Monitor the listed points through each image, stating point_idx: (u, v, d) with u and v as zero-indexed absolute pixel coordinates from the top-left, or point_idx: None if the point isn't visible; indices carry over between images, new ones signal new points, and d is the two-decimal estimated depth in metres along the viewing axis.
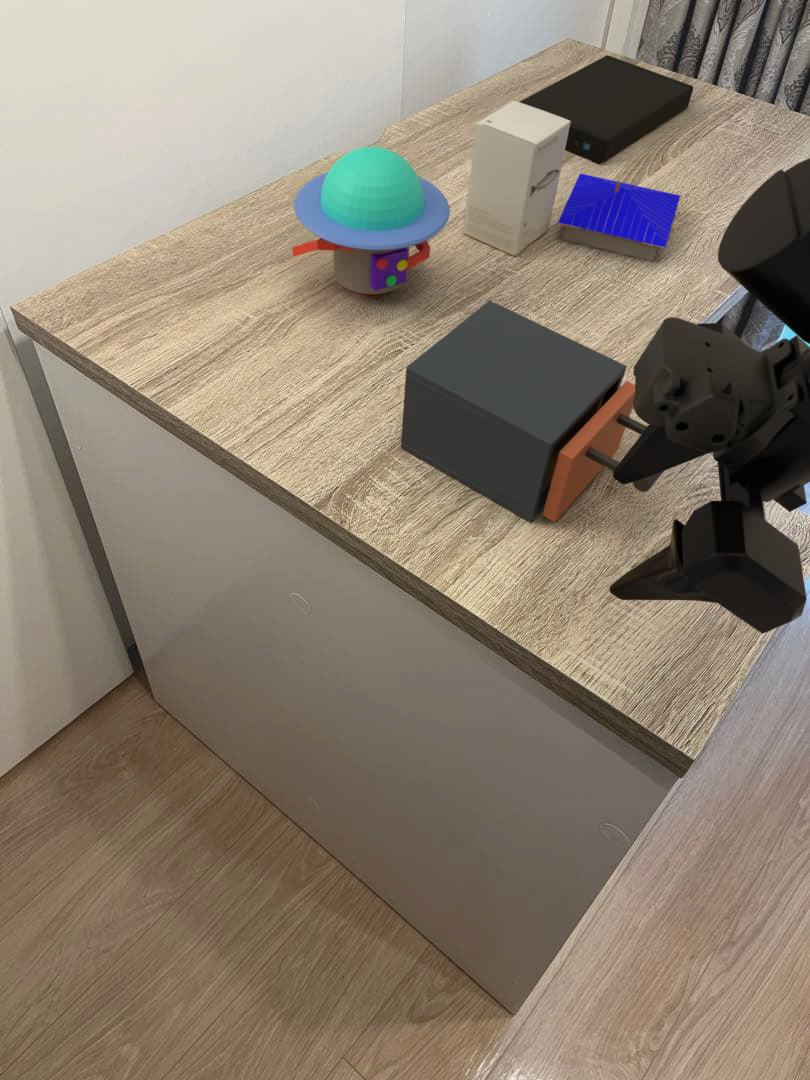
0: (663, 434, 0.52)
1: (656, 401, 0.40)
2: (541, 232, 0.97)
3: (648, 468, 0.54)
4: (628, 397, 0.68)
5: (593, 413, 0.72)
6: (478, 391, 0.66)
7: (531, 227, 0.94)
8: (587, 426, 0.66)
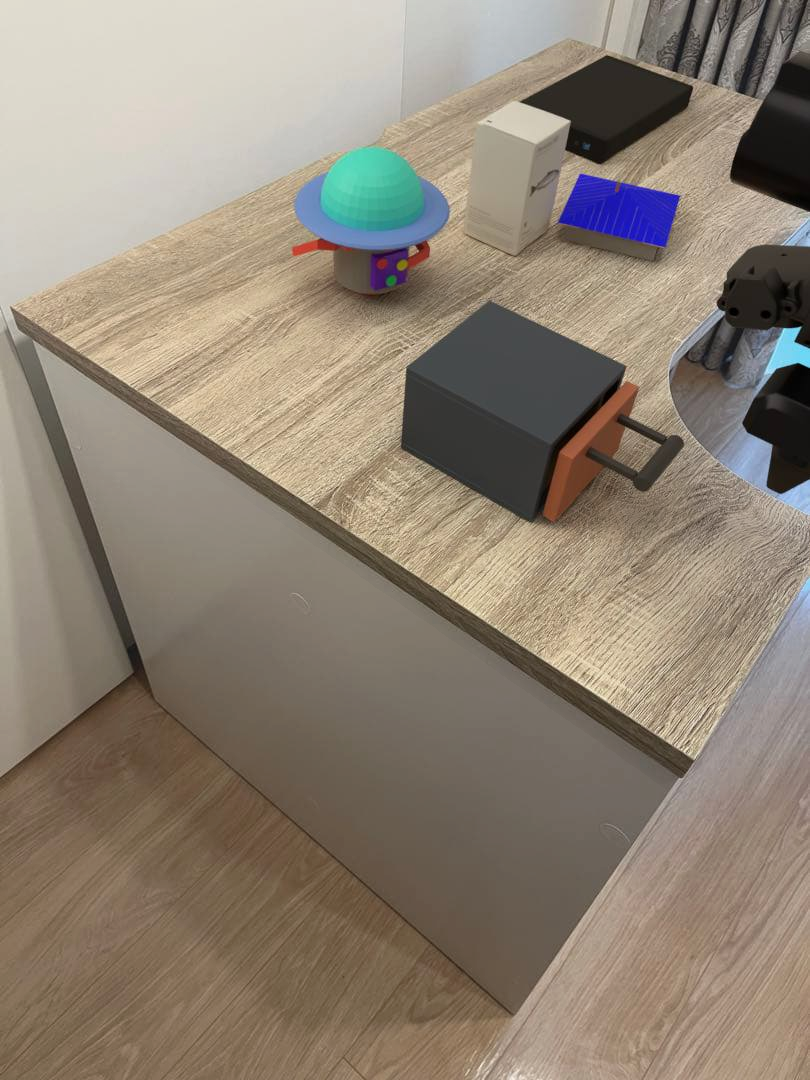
0: None
1: (717, 300, 0.51)
2: (541, 232, 0.97)
3: None
4: (628, 397, 0.68)
5: (593, 413, 0.72)
6: (478, 391, 0.66)
7: (531, 227, 0.94)
8: (587, 426, 0.66)
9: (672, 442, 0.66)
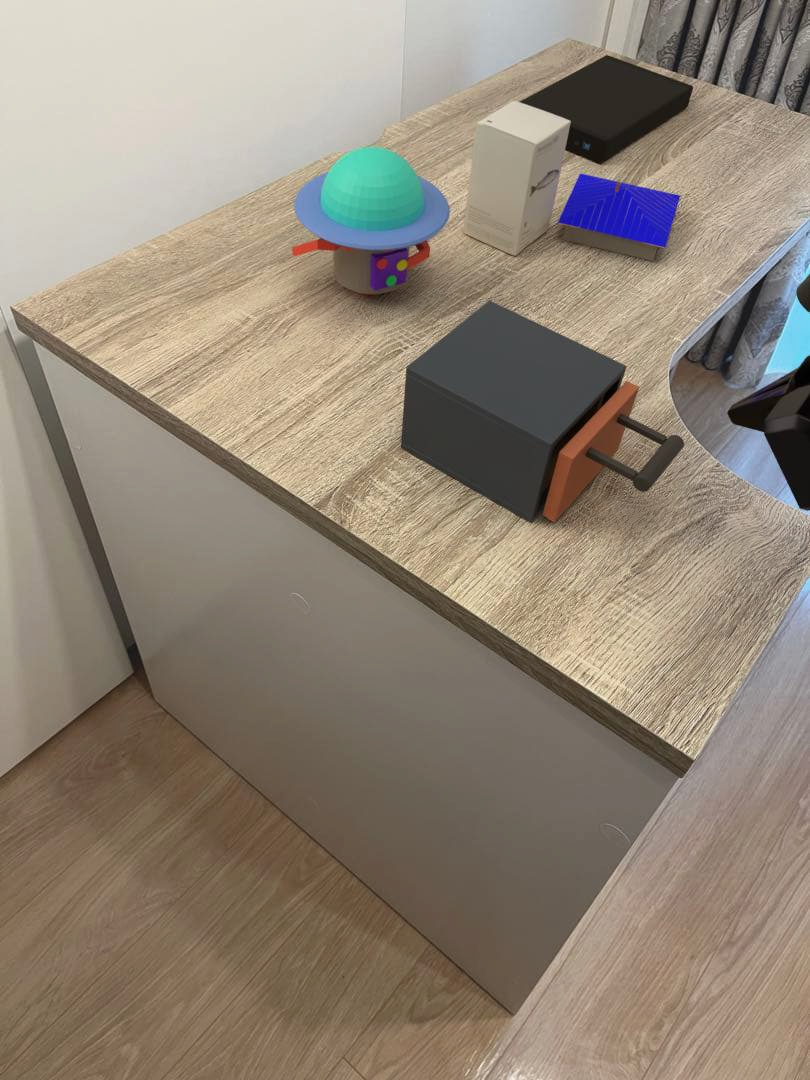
0: None
1: None
2: (541, 232, 0.97)
3: None
4: (628, 397, 0.68)
5: (593, 413, 0.72)
6: (478, 391, 0.66)
7: (531, 227, 0.94)
8: (587, 426, 0.66)
9: (672, 442, 0.66)
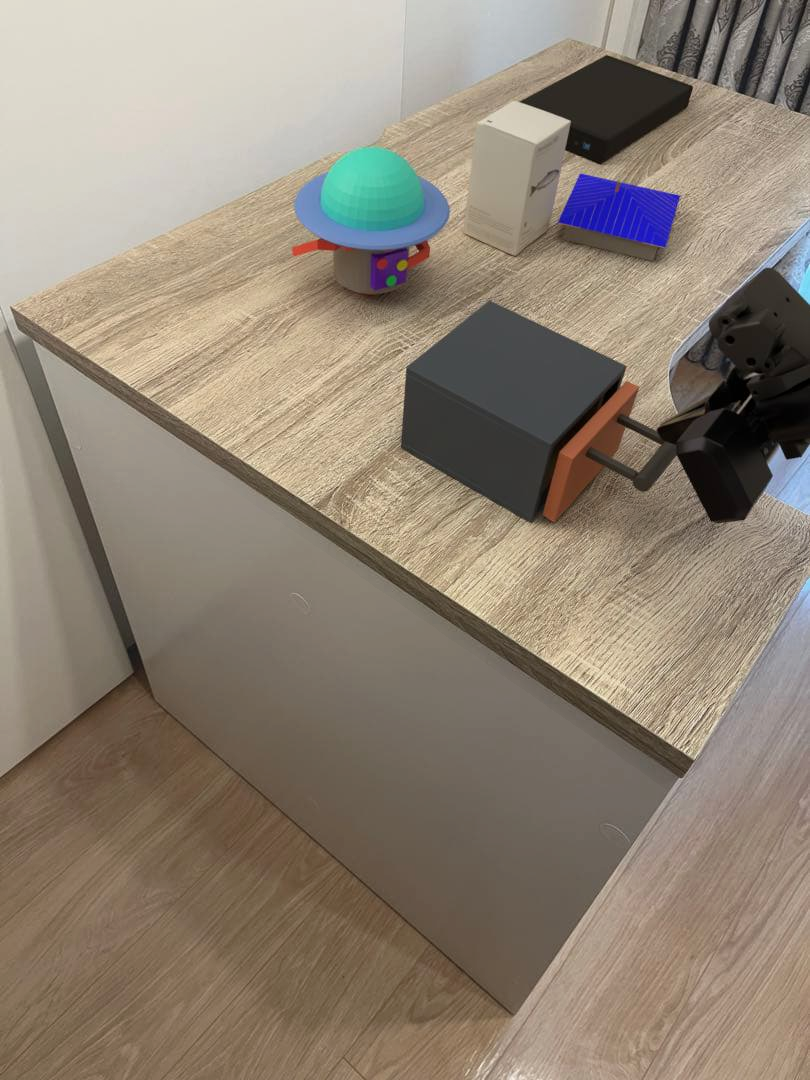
0: None
1: (722, 314, 0.52)
2: (541, 232, 0.97)
3: None
4: (628, 397, 0.68)
5: (593, 413, 0.72)
6: (478, 391, 0.66)
7: (531, 227, 0.94)
8: (587, 426, 0.66)
9: None
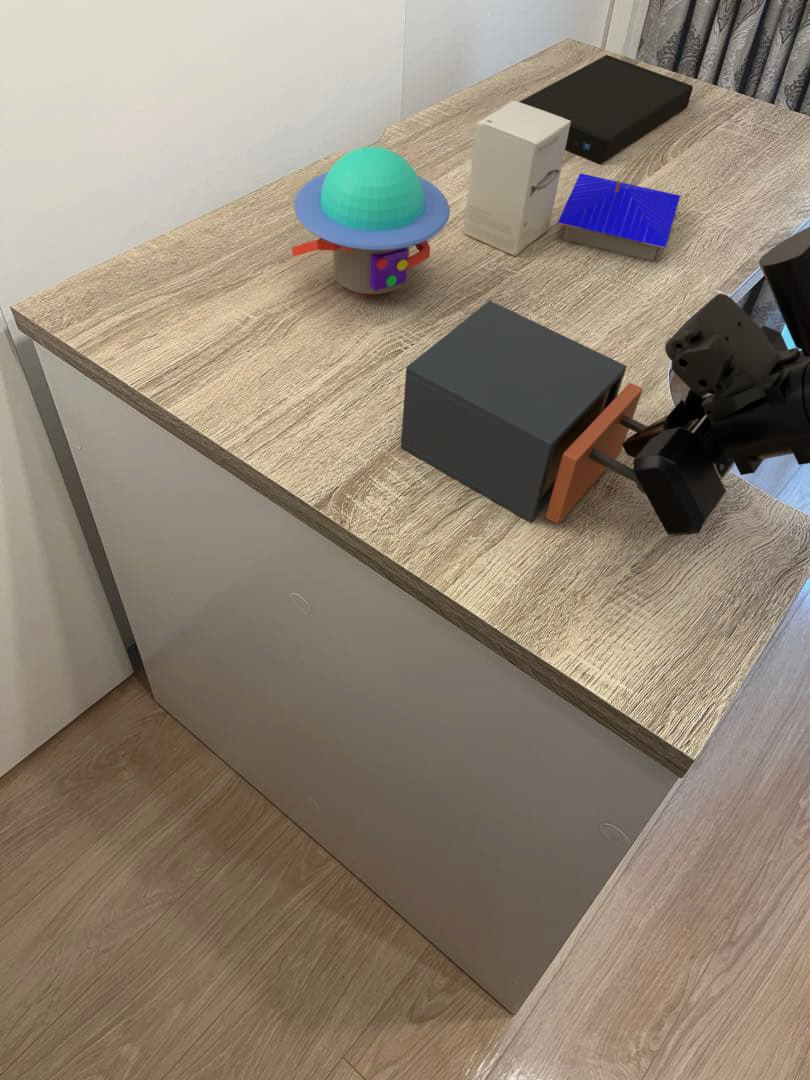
0: None
1: (676, 339, 0.55)
2: (541, 232, 0.97)
3: None
4: (631, 399, 0.68)
5: (596, 415, 0.72)
6: (478, 391, 0.66)
7: (531, 227, 0.94)
8: (590, 427, 0.66)
9: None
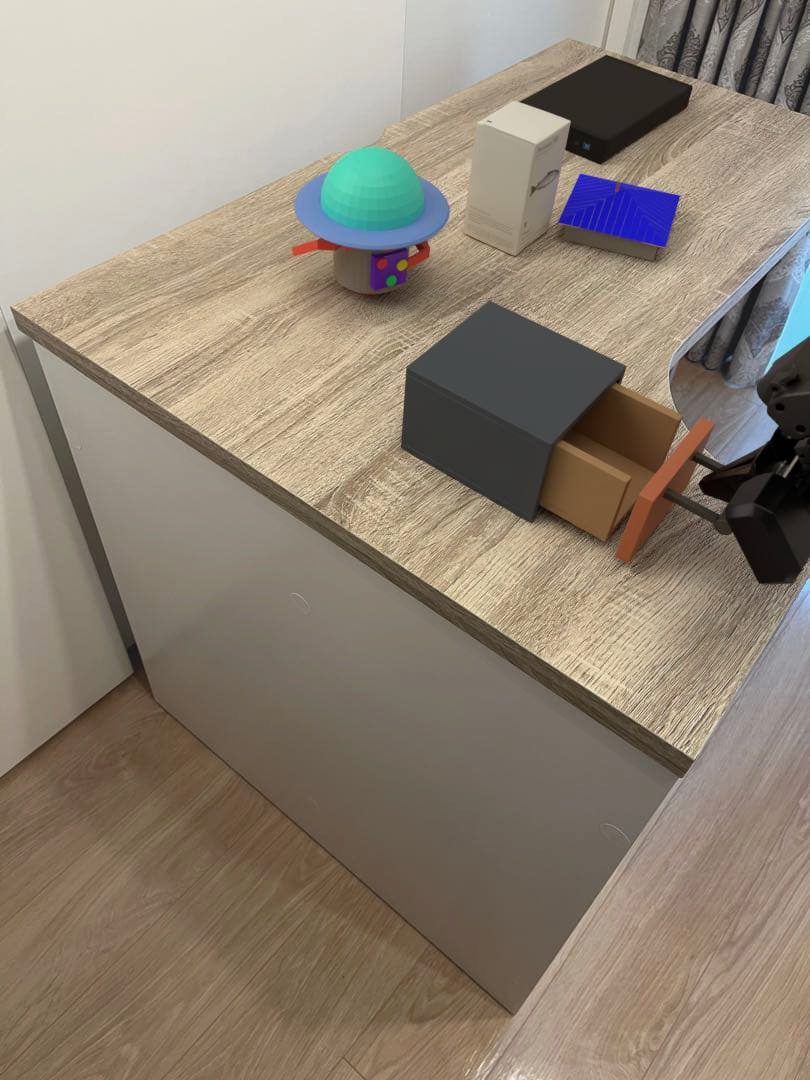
0: None
1: (771, 381, 0.52)
2: (541, 232, 0.97)
3: None
4: (705, 435, 0.66)
5: (664, 449, 0.70)
6: (478, 391, 0.66)
7: (531, 227, 0.94)
8: (665, 466, 0.64)
9: None
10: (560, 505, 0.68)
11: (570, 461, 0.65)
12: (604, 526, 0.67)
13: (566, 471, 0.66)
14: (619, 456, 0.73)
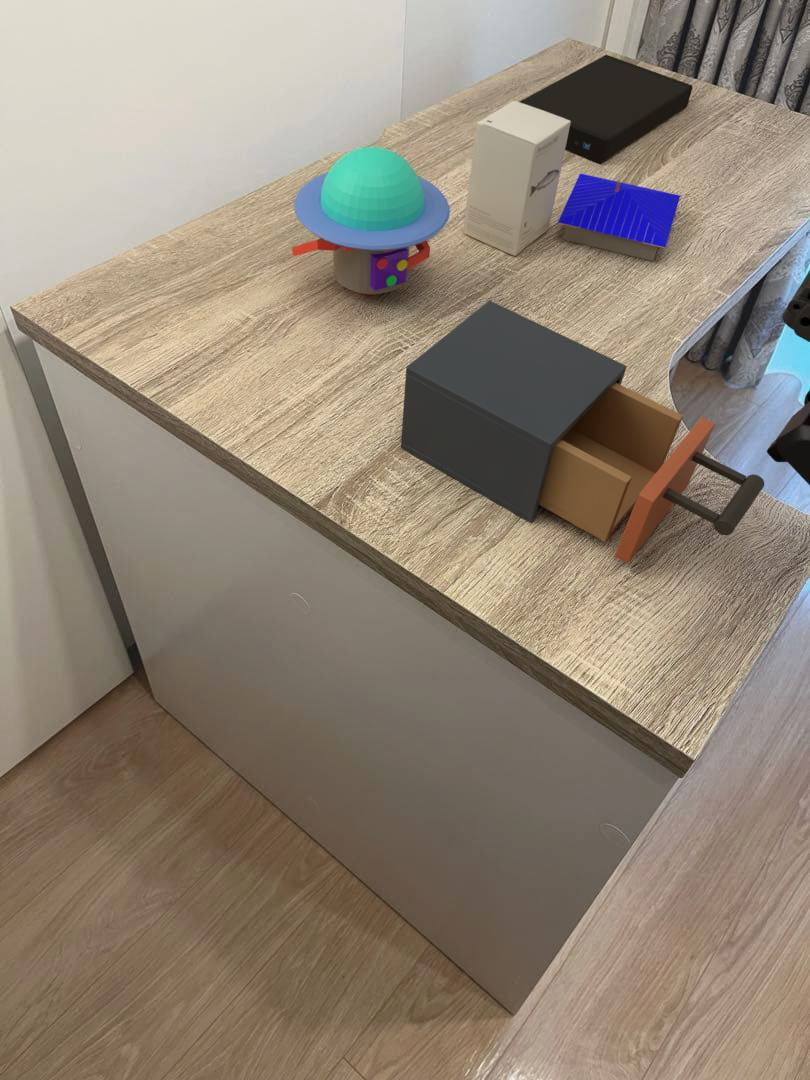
0: None
1: (791, 300, 0.48)
2: (541, 232, 0.97)
3: None
4: (705, 435, 0.66)
5: (664, 449, 0.70)
6: (478, 391, 0.66)
7: (531, 227, 0.94)
8: (665, 466, 0.64)
9: (753, 483, 0.64)
10: (560, 505, 0.68)
11: (570, 461, 0.65)
12: (604, 526, 0.67)
13: (566, 471, 0.66)
14: (619, 456, 0.73)
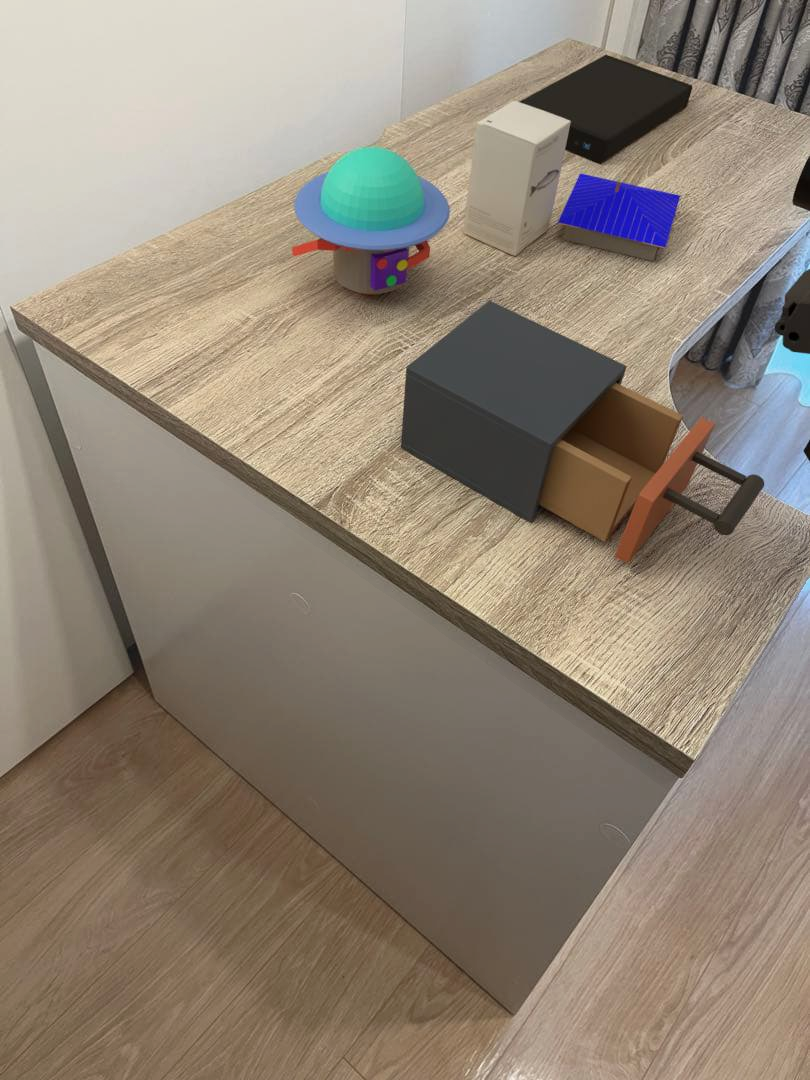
0: None
1: (776, 324, 0.50)
2: (541, 232, 0.97)
3: None
4: (705, 435, 0.66)
5: (664, 449, 0.70)
6: (478, 391, 0.66)
7: (531, 227, 0.94)
8: (665, 466, 0.64)
9: (753, 483, 0.64)
10: (560, 505, 0.68)
11: (570, 461, 0.65)
12: (604, 526, 0.67)
13: (566, 471, 0.66)
14: (619, 456, 0.73)
